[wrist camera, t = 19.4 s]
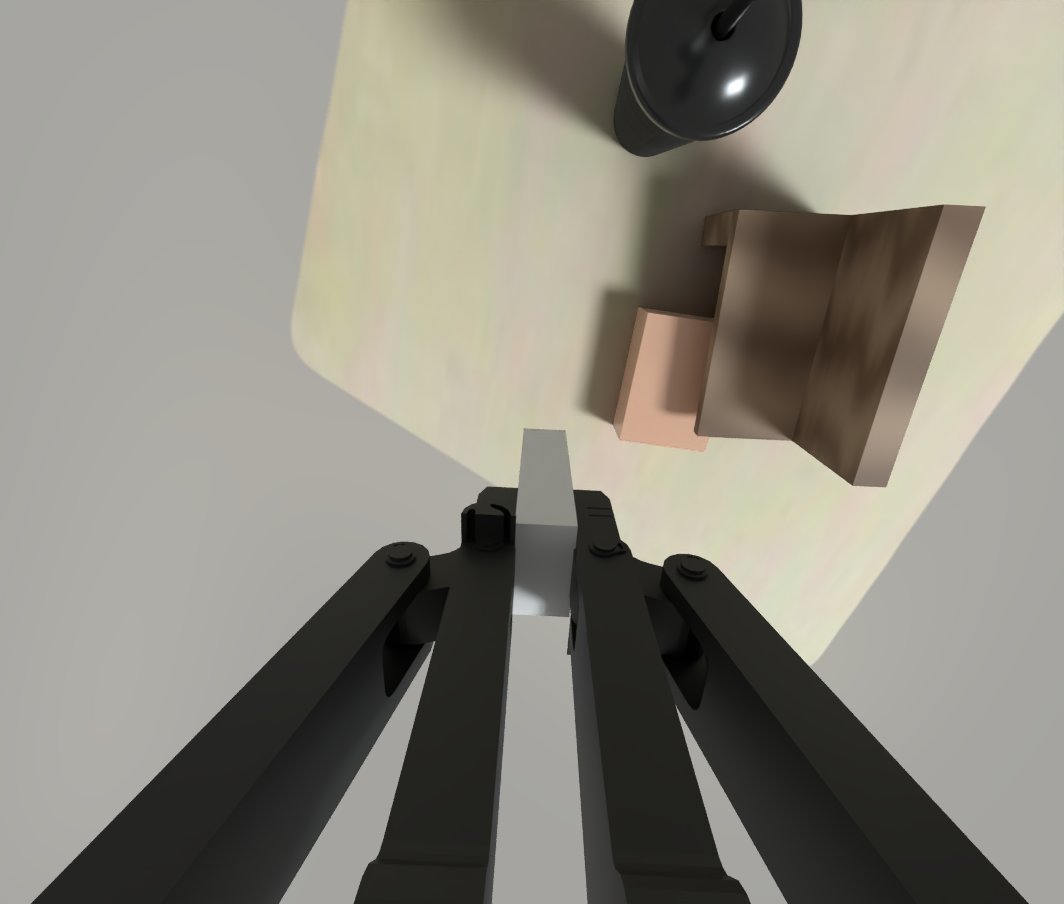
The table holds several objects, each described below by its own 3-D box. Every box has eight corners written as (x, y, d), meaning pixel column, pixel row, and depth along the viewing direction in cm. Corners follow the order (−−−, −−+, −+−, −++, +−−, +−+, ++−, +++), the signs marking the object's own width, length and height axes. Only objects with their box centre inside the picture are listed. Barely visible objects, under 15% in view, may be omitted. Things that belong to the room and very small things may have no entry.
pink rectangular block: (612, 424, 43) (619, 440, 39) (637, 306, 39) (648, 312, 36) (690, 434, 43) (704, 452, 40) (723, 319, 40) (742, 326, 36)
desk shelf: (706, 216, 36) (799, 197, 24) (826, 222, 37) (985, 206, 24) (674, 409, 42) (735, 480, 29) (779, 414, 42) (885, 487, 29)
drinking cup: (723, 133, 34) (938, -3, 16) (628, 201, 36) (723, 150, 18) (671, 20, 32) (854, -294, 14) (572, 99, 34) (615, -86, 15)
